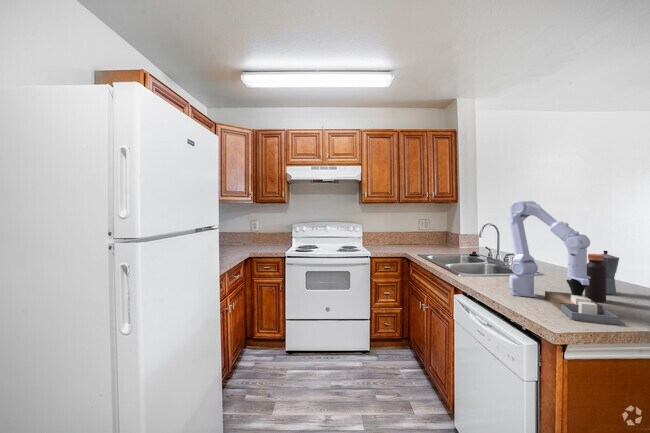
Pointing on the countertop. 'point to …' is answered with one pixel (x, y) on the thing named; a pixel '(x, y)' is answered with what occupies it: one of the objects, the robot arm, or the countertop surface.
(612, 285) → the moka pot
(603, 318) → the box
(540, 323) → the countertop surface
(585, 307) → the tile front
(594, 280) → the bottle
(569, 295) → the walnut board
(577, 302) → the tile back
